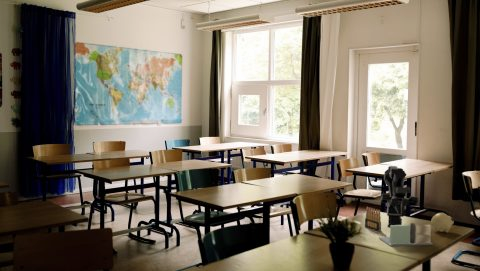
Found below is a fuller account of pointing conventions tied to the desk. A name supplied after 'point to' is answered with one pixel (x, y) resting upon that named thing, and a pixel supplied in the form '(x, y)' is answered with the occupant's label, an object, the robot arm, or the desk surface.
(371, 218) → the ammunition clip
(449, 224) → the cream rounded piece
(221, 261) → the desk surface
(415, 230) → the fixed fence panel
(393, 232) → the panel
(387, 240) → the card
